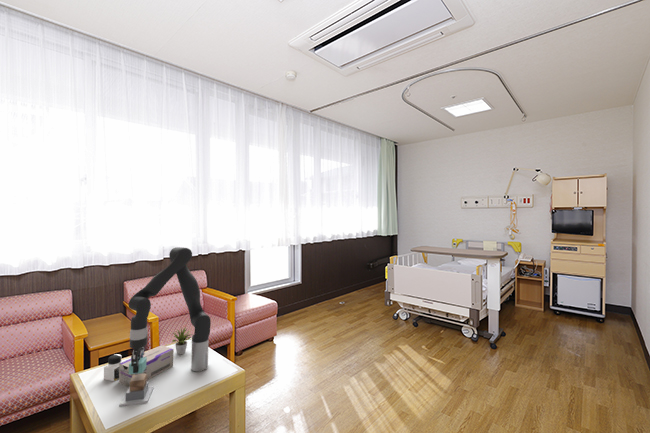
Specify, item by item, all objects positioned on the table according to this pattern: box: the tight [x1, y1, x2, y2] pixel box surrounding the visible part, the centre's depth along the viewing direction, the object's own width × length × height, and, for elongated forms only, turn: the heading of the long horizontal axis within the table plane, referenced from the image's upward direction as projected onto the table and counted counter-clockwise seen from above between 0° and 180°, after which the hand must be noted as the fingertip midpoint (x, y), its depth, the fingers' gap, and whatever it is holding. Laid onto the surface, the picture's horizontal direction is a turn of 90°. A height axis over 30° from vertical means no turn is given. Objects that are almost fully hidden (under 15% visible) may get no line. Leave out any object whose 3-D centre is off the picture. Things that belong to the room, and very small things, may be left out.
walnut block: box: [130, 373, 148, 391], centre depth 152 cm, size 6×6×5 cm
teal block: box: [129, 357, 147, 374], centre depth 151 cm, size 6×6×5 cm
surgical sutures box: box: [118, 344, 174, 388], centre depth 172 cm, size 25×11×11 cm, turn 155°
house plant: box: [172, 326, 193, 355], centre depth 196 cm, size 14×14×16 cm
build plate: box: [119, 381, 155, 407], centre depth 152 cm, size 12×12×5 cm
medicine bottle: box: [103, 353, 123, 382], centre depth 168 cm, size 7×7×12 cm
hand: (137, 368), depth 151 cm, fingers closed on teal block, 6 cm apart
